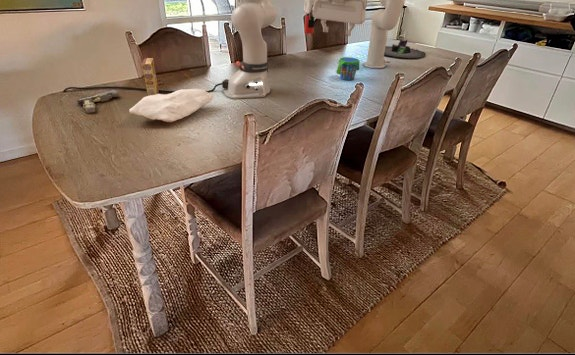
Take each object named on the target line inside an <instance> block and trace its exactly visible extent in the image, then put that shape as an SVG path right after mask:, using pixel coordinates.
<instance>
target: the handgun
mask: <svg viewBox="0 0 575 355" xmlns="http://www.w3.org/2000/svg"><path fill="white" fill-rule="evenodd" d="M119 96H120V94H119V92H118V91H117V90H116V89H112V90H108V91H105V92H104V91H103V92H101V93H96V94H94V95H86V94H85V95H84V94H83V95H81V96H80V97H77V98H76V101H77V104H78V105H82V108H83V109H84V110H85V113H87V114H91V113H95V112H96V104H95V103H98V102H106V101H109V100H111V99H113V98H117V97H119Z"/></svg>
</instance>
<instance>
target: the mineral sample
mask: <svg viewBox="0 0 575 355" xmlns="http://www.w3.org/2000/svg"><path fill="white" fill-rule="evenodd" d="M407 44H408V39H403V38H401V39H400V40H399V42H398V44H392V46H389V45H386V47H385V53H384V56H389V57H395V58H402V59H418V58H419V59H420V58H424V57H425V56H426V55H427V54H426V52H425V51H421V50H418V49H415V48H411V47H410V45H407Z"/></svg>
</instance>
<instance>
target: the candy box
mask: <svg viewBox="0 0 575 355" xmlns="http://www.w3.org/2000/svg"><path fill="white" fill-rule="evenodd" d="M141 66H142V73H143V78H144V82H145V87H146V89H147V90H146V92H147V96H150V95H156V94H159V93H160V92H159V91H158V90H159V84H158V79H157V73H156V66H155V62H154V58H153V57H151V58H150V57H149V58H146V57H145V58H143V60H142V63H141Z"/></svg>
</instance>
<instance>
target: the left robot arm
mask: <svg viewBox="0 0 575 355" xmlns="http://www.w3.org/2000/svg"><path fill="white" fill-rule="evenodd" d="M241 2H242V4H241V5H239V6H237V7H235V8H234V9H233V10H232V12H231V14H230V16H231V17H230V20H231V24H232V26H233V28H234V29H235V30H236V31H237V32H238V34H239V37H240V40H241V44H242V59H243V60H242V61H236V62H235V65H236V66H237V67H239V69H237V71H236V72H235V73H234V74H232V75H231V76H230V77H229V78H225V79H223V80H222V81H221V82H220V83H217V84H215V85H214V87H213V88H212V89H209V90H205V91H206V92H208V93H211V92H213V91H215V90H216V88H217V87H219V86H222V89H223V91H222V92H223V94H224V95H225V96H226V97H228V98H230V99H233V100H236V99H237V100H238V99H239V100H240V99H253V98H254V99H255V98H264V97H266V95H268V94H269V93H270V92H271V88H270V84H269V78H268V76H269V75H268V72H269V61H268V44H267V42H266V41H265V40H264V38H263V35H262V29H264V28H268V27H269V26H271V25H272V24H273V23H274V22H275V20H276V17H277V11H276V8H275V6H274V4H272V3H271V2H270V1H269V0H241ZM367 6H368V0H315V1H314V5H313V17H314V18H315V19H318V20H320V24H321V27H322V32H323V33H326V34H327V33H329V28H330V27H329V26H327V21H332V22H338V23H339V22H340V23H346V24H348V27H349V28H348V29H347V30H345V34H344V35H345V37H351V35H352V31H353V29H354V28H355V27H356V25H362V24H364V23H365V21H366V14H367V13H366V12H367V11H366V10H367ZM96 89H99V90H100V89H124V90H126V89H128V90H139V91H147V88H145V87H137V86H136V87H135V86H119V85H117V86H116V85H115V86H113V85H109V86H108V85H107V86H106V85H105V86H87V87H79V86H69V87H65V88H64V89H63V90H62V93H65V92H67V91H68V90H96ZM158 91H159V92H158V93H167V94H171V93H173V92H175V91H176V90H165V89H164V90H163V89H158Z"/></svg>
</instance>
